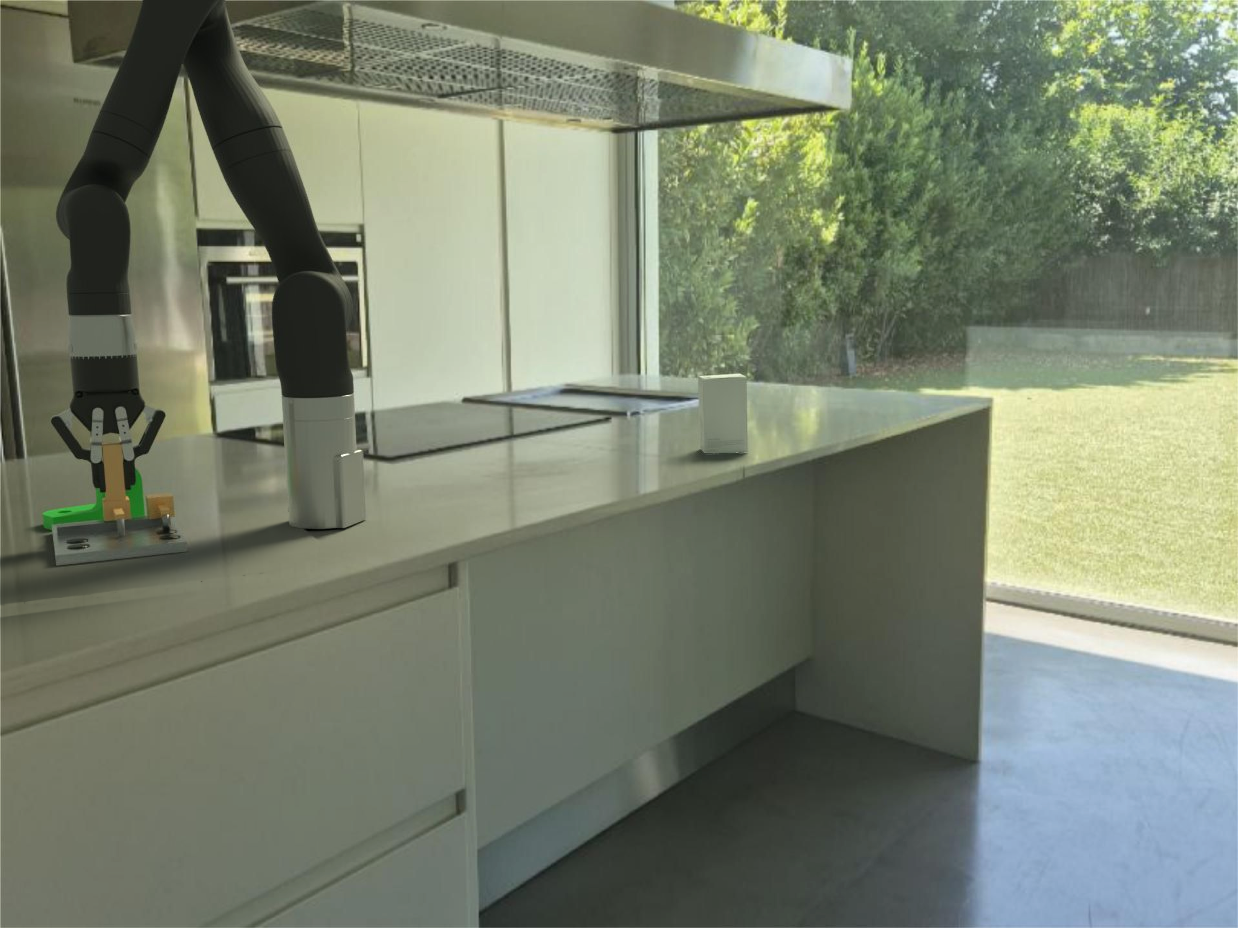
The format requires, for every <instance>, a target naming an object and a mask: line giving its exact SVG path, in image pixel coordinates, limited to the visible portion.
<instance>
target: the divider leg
mask: <svg viewBox="0 0 1238 928" xmlns="http://www.w3.org/2000/svg"><path fill="white" fill-rule="evenodd" d="M101 457H102V461H103V463H104V470H105V483H106V492H105V496H106V498H103V499H102V504H103V516H104V520H105V521H111V520H116V521H117V528H118V536H124V535H125V526H124V520H125V519H131V510H130V499H129V498H128V496H126V493H125V484H124V471H123V455H122V445H121V443H120V441H119V442H109V443H108V442H107V443H102V455H101Z"/></svg>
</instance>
